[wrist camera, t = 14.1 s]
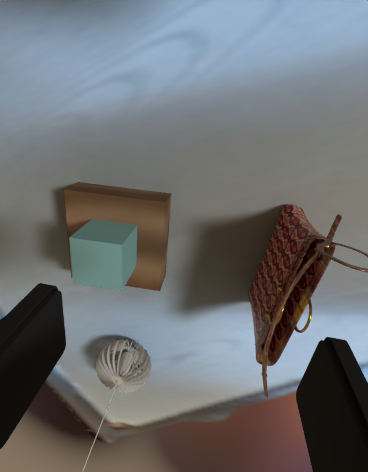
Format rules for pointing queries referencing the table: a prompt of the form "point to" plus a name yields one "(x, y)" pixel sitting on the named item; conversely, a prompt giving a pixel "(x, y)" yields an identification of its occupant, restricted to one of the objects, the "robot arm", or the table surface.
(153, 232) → the walnut plinth
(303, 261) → the handbag
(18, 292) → the table surface
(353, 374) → the robot arm
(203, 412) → the table surface
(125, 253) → the teal block
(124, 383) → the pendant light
